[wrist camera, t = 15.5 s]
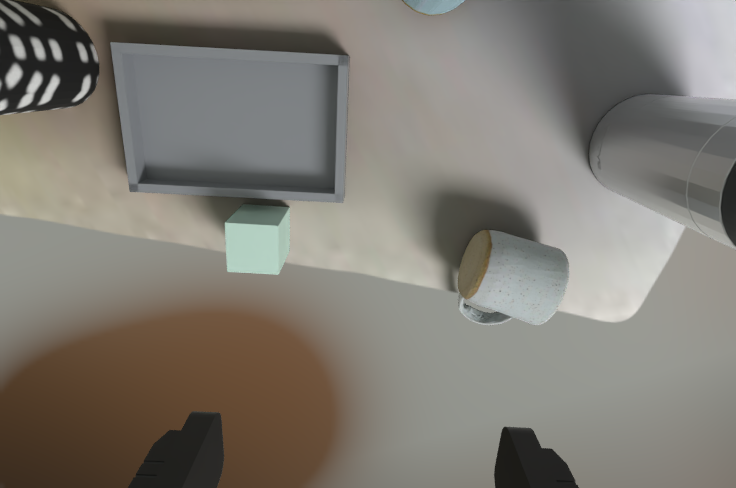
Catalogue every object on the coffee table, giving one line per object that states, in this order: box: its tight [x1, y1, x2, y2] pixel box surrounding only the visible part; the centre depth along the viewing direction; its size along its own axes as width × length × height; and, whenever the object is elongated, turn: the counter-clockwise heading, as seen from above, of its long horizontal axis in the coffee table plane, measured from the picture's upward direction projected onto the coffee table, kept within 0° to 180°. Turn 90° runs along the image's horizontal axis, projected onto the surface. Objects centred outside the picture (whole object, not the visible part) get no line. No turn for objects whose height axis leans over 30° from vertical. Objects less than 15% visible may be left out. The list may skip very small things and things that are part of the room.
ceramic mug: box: [458, 230, 569, 325], centre depth 44 cm, size 11×8×8 cm
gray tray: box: [110, 42, 350, 203], centre depth 41 cm, size 20×13×2 cm, turn 87°
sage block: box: [225, 204, 290, 275], centre depth 43 cm, size 5×5×6 cm
